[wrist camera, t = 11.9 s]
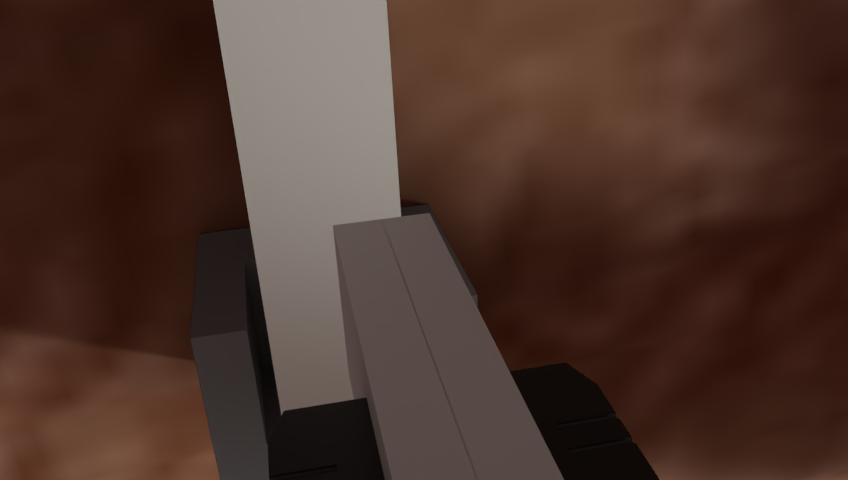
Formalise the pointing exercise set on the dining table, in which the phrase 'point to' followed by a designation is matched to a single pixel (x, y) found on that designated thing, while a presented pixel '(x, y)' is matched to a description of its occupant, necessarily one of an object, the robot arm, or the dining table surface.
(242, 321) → the endcap rack
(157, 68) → the dining table surface
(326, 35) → the light grey long block
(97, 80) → the dining table surface
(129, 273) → the dining table surface
